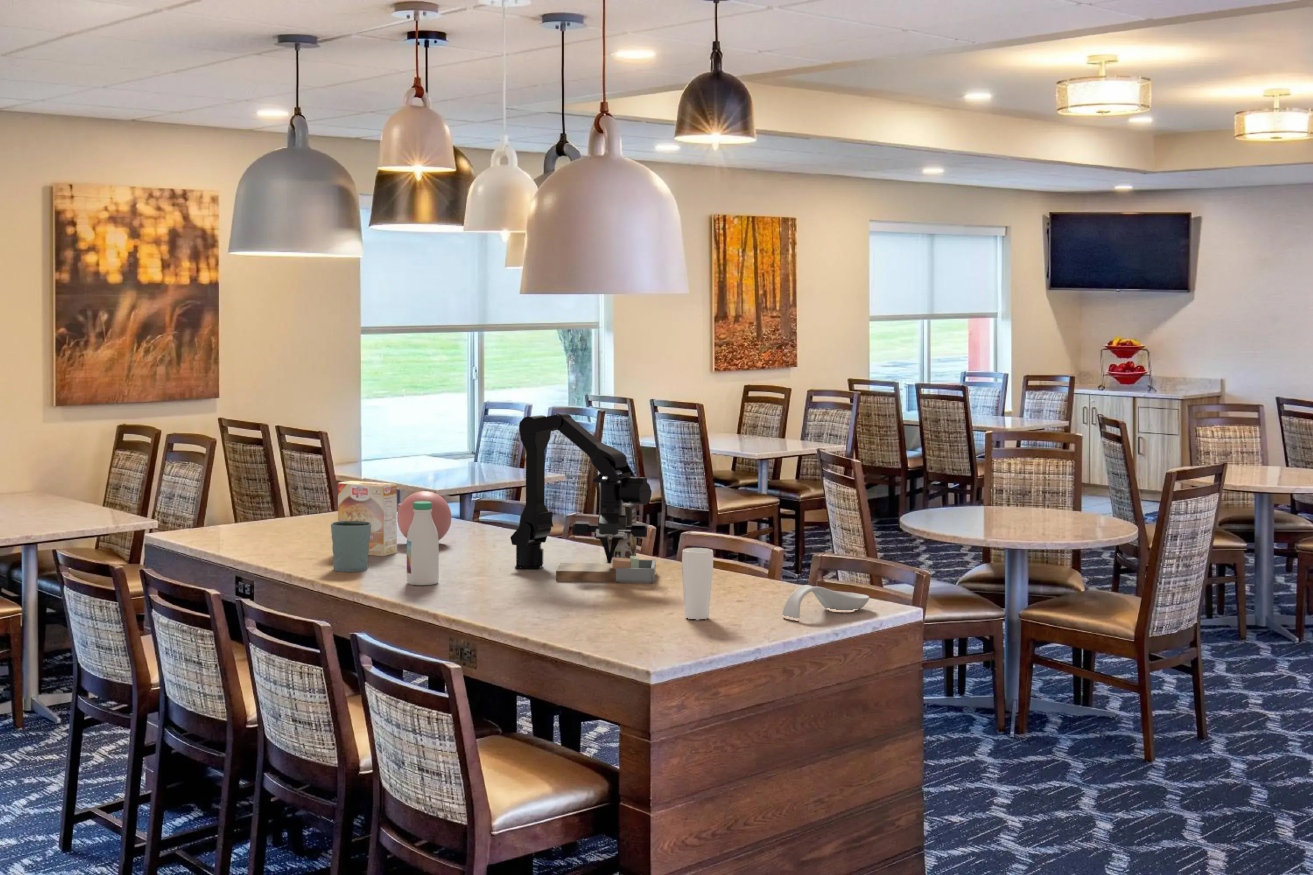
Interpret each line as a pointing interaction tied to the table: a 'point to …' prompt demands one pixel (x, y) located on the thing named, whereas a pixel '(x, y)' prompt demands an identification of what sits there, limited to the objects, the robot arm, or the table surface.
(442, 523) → the balloon
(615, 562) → the terracotta tile
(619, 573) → the tray
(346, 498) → the coffeecake box
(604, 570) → the walnut board
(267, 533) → the table surface
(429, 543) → the milk bottle
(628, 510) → the coffee box
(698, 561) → the drinking glass
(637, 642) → the table surface
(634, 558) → the sage tile
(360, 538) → the teal cup
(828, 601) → the spoon rest
